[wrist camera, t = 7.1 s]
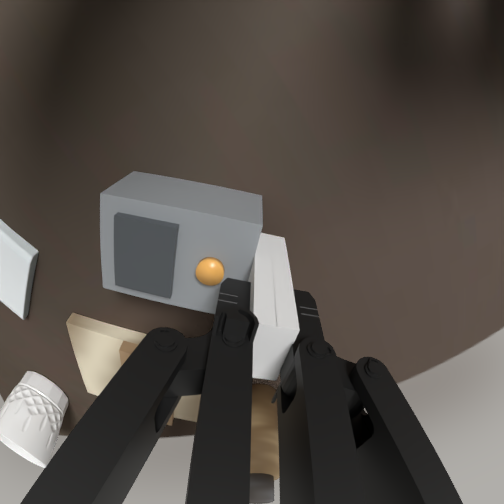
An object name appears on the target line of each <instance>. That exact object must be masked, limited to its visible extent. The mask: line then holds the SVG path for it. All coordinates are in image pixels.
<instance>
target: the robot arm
mask: <svg viewBox="0 0 504 504" xmlns="http://www.w3.org/2000/svg"><path fill="white" fill-rule="evenodd" d="M318 316H319V315H318V311H317V306H316V302H315V300H314V298H313V297H312V296H311V295H310V293H309V292H305V291H300V290H294V289H293V285H292V279H291V273H290V267H289V261H288V255H287V249H286V244H285V238H283V237H278V236H274V235H269V234H264V233H261V234H260V238H259V242H258V245H257V249H256V253H255V257H254V261H253V264H252V268H251V272H250V276H249V279H248V282H247V281H242V280H237V279H232V278H226V279H225V280H224V281H223V282H222V283H221V286H220V291H219V296H218V301H217V306H216V311H215V317H214V322H213V327H212V329H211V331H210V332H209V333H207V334H206V335H204V336H201V337H196V338H185V337H184V336H183V334H182V333H180V332H179V331H177V330H175V329H171V328H168V327H165V328H157V329H154V330H151V331H150V332H149V333H148V334H147V335H146V336H145V337H144V338H143V340H142V341H141V342H140V343H139V345H138V346H137V347H136V348H135V350H134V351H133V352H132V353H131V355H130V356H129V357H128V358H127V360H126V361H125V362H124V364H123V365H122V366H121V367H120V369H119V370H118V371H117V373H116V374H115V375H114V376H113V378H112V379H111V380H110V382H109V383H108V384H107V385H106V387H105V388H104V389H103V391H102V392H101V393H100V395H99V396H98V397H97V398H96V400H95V401H94V402H93V404H92V405H91V406H90V408H89V409H88V410H87V412H86V413H85V414H84V416H83V417H82V418H81V420H80V421H79V422H78V424H77V425H76V426H75V428H74V429H73V430H72V432H71V433H70V434H69V436H68V437H67V439H66V440H65V441H64V443H63V444H62V445H61V447H60V448H59V450H58V451H57V452H56V454H55V455H54V456H53V458H52V459H51V461H50V462H49V463H48V465H47V466H46V468H45V469H44V470H43V472H42V473H41V475H40V476H39V478H38V479H37V481H36V482H35V483H34V485H33V486H32V488H31V489H30V490H29V492H28V494H27V495H26V496H25V498H24V499H23V501H22V502H21V504H122V503H123V501H124V499H125V498H126V496H127V494H128V492H129V490H130V489H131V487H132V485H133V483H134V482H135V480H136V478H137V476H138V474H139V473H140V471H141V469H142V467H143V466H144V464H145V462H146V460H147V459H148V457H149V455H150V453H151V451H152V449H153V448H154V446H155V444H156V442H157V441H158V439H159V437H160V435H161V433H162V432H163V430H164V428H165V426H166V424H167V423H168V421H169V419H170V417H171V415H172V413H173V412H174V410H175V408H176V406H177V404H178V403H179V401H180V399H181V397H182V396H191V395H201V397H200V404H199V410H198V417H197V423H196V430H195V436H194V443H193V450H192V457H191V464H190V472H189V479H188V487H187V494H186V502H185V504H249V503H250V462H251V419H252V378H260V379H267V380H277V378H278V376H279V374H280V377H281V382H280V384H279V386H278V388H277V390H276V392H275V394H274V396H273V398H272V401H271V403H275V401H276V399H277V412H278V441H279V476H280V504H463V503H462V501H461V499H460V497H459V495H458V493H457V491H456V489H455V487H454V485H453V483H452V481H451V479H450V477H449V475H448V473H447V471H446V470H445V468H444V466H443V464H442V462H441V460H440V458H439V457H438V455H437V453H436V451H435V449H434V447H433V446H432V444H431V442H430V440H429V439H428V437H427V435H426V433H425V432H424V430H423V428H422V426H421V424H420V423H419V421H418V419H417V417H416V416H415V415H414V412H413V411H412V409H411V407H410V406H409V404H408V402H407V400H406V399H405V397H404V395H403V394H402V392H401V390H400V389H399V387H398V385H397V384H396V382H395V380H394V379H393V377H392V376H391V374H390V372H389V371H388V369H387V368H386V366H385V365H384V364H383V363H382V362H380V361H379V360H377V359H375V358H372V357H363V358H361V359H359V361H358V362H357V363H356V364H355V363H352V362H349V361H347V360H344V359H341V358H339V357H337V356H336V353H335V351H334V349H333V347H332V346H331V345H330V344H329V343H327V342H326V341H325V340H324V336H323V332H322V327H321V323H320V319H319V317H318ZM364 408H365V409H366V411H367V413H368V414H367V413H366V412H365V411H364Z"/></svg>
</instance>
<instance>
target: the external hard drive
mask: <svg viewBox="0 0 504 504" xmlns="http://www.w3.org/2000/svg"><path fill="white" fill-rule="evenodd" d="M38 253H39V251H38V250H37V249H35V248H34V247H33V246H31V245H30V244H29V243H28V242H27V241H25V240H24V239H23V238H22V237H20V236H19V235H18V234H17V233H16V232H14V231H13V230H12V229H11V228H10V227H9V226H7V225H6V224H5V223H4V222H3V221H2V220H1V219H0V301H1V302H3V303H4V304H5V305H6V306H7V307H8V308H10V309H11V310H12V311H13V312H14V313H16V314H17V315H18V316H19V317H20V318H22V319H23V320H24V319H25V318H26V317H27V315H28V312H29V304H30V297H31V290H32V284H33V278H34V272H35V267H36V262H37V258H38Z"/></svg>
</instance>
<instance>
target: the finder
mask: <svg viewBox="0 0 504 504" xmlns="http://www.w3.org/2000/svg"><path fill="white" fill-rule="evenodd" d="M262 226H263V216H262V195H257V194H253V193H248V192H244V191H239V190H234V189H229V188H224V187H220V186H215V185H209V184H204V183H199V182H194V181H189V180H183V179H178V178H172V177H166V176H161V175H155V174H149V173H142V172H136V171H133V172H132V173H130V174H129V175H127V176H126V177H124V178H122V179H121V180H119V181H118V182H116V183H115V184H113V185H112V186H110V187H109V188H107V189H106V190H105V191H103V192H102V193H100V242H101V264H102V279H103V288H106V289H110V290H114V291H118V292H121V293H125V294H129V295H133V296H137V297H141V298H145V299H149V300H153V301H157V302H162V303H166V304H170V305H175V306H179V307H184V308H188V309H193V310H197V311H202V312H207V313H212V314H215V311H216V306H217V301H218V296H219V291H220V286H221V283H222V282H223V281H224V280H225V279H226V278H232V279H237V280H242V281H247V282H248V279H249V276H250V272H251V268H252V264H253V261H254V257H255V253H256V249H257V245H258V242H259V238H260V234H261V230H262Z"/></svg>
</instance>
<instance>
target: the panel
mask: <svg viewBox="0 0 504 504" xmlns="http://www.w3.org/2000/svg"><path fill="white" fill-rule="evenodd" d="M66 324H67V328H68V332H69V335H70V339H71V342H72V346H73V349H74V353H75V356H76V359H77V362H78V365H79V368H80V371H81V374H82V377H83V380H84V383H85V386H86V388H87V391H88V392H89V393H91V394H94V395H97V396H99V395H100V393H101V392H102V391H103V389H104V388H105V387H106V385H107V384H108V383H109V382H110V380H111V379H112V378H113V376H114V375H115V374H116V373H117V371H118V370H119V369H120V367H121V366H122V365H123V364H124V362H125V361H126V360H127V358H128V357H129V356H130V355H131V353H132V352H133V351H134V350H135V348H136V347H137V346H138V345H139V343H140V342H141V341H142V340H143V338H144V337H145V336H146V335H147V334H144V333H140V332H137V331H133V330H129V329H126V328H122V327H118V326H115V325H111V324H108V323H105V322H101V321H98V320H95V319H91V318H88V317H85V316H82V315H79V314H76V313H72V314H71V316H70V317H69V319H68V320H67V322H66ZM200 397H201V395H191V396H182V397H181V399H180V401H179V403H178V404H177V406H176V408H175V410H174V412H173V413H172V415H171V417H170V419H169V421H168V423H167V424H166V425H170V426H172V423H173V418H179V419H184V420H189V421H194V422H197V417H198V410H199V404H200Z"/></svg>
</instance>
